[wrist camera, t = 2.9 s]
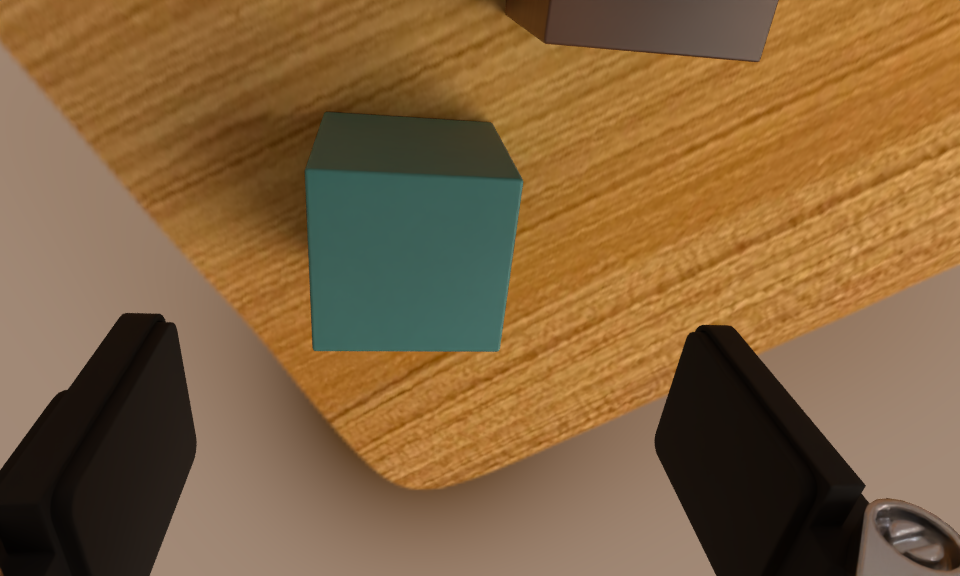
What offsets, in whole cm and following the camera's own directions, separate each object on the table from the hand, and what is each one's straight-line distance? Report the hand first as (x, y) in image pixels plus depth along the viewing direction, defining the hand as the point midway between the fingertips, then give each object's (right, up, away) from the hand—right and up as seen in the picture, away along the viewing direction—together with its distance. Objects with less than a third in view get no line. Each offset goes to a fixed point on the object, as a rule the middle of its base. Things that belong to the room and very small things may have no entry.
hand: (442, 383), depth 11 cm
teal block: (-2, +5, +8) cm, 10 cm away
